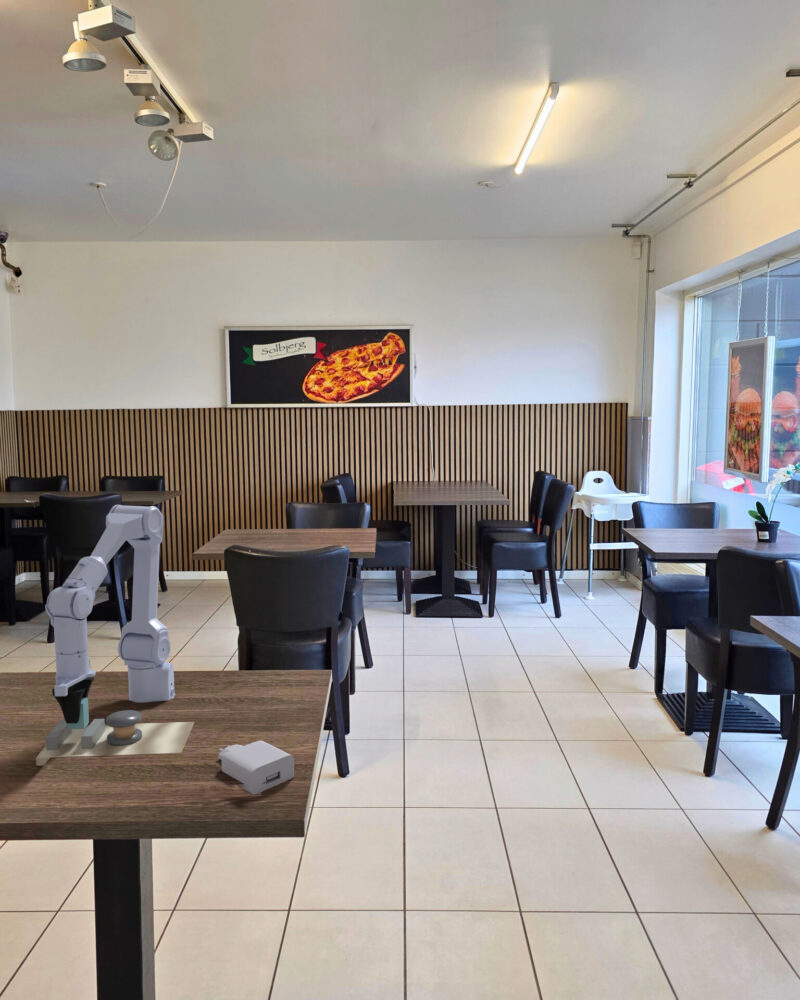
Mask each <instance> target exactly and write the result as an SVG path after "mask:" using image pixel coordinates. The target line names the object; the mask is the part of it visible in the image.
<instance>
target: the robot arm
mask: <svg viewBox="0 0 800 1000" xmlns="http://www.w3.org/2000/svg"><path fill="white" fill-rule="evenodd" d="M105 526H106V528H105V530H104V531H103V533H102V535H101V537H100V539H99V540H98V542H97V544H96V545H95V547H94V549H93V551H92V552H91V553H90V556H84V557H82V558H80V559H79V561H78V562H77V564H76V565H75V567H74V568H73V570H72V571H71V573H70V574H69V575H68V577H67V578H66V579H65V581H64V582H63V584H62V586H59V587H56V588H55V589H53V590H52V591H51V592H50V593H49V594H48V596H47V600H46V604H45V606H44V607H45V612H46V613H47V615H48V616H49V619H50V625H51V626H52V627H53V629H54V630H53V631H54V632H53V633H54V653H55V668H56V673H55V675H54V676H55V685H54V686H53V687H54V688H52V690H51V692H52V696H53V697H54V698H55V700H57V703H58V704H59V707H60V710H61V712H62V714H63V715H62V716H63V718H64V719H63V720H65V721H66V723H67V724H69V723H78V721H79V717H80V706H81V700H82V698H88V699H89V697H88V696H89V692H90V690H91V687H92V684H93V682H94V681H95V680H94V679H95V675H96V673H97V672H96V670H95V669H92V670H91V659H89V658H90V657H89V642H88V623H87V622H88V621H87V617H88V616H89V615H90V614H91V613H92V611H93V606H94V600H95V599H96V592H97V590H98V589H99V587H100V585H101V584H102V583H103V581H104V579H105V578H106V576H107V575H108V567H107V564H109V562H110V561H111V559H113V557H114V556H115V555H116V554H117V552H118V551H119V550H120V548H121V547H122V546H123V545H124V544H125V542H126V541H127V542H128V544H129V545H131V547H133V550H134V551H133V552H134V553H133V574H132V575H133V576H132V577H133V580H132V582H133V583H132V603H131V604H132V606H131V620H130V621H129V622H127V624H125V625H124V626H122V628H121V635H120V639H119V641H118V644H117V653H118V655H119V657H120V659H121V660H122V661H123V662H124V666H127V679H128V701H131V702H133V703H151V702H161V701H162V702H166V701H167V702H169V701H170V700H173V699H174V698H175V696H176V693H175V692H176V691H175V671H174V669H175V668H174V664H173V663H172V662H166V660H168V658H169V655H170V652H171V641H170V638H169V628H168V627H167V626H166V625H164V624H163V623H162V622H161V621H159V619H158V601H159V599H158V598H159V597H158V596H159V574H160V573H159V572H160V547H161V546H160V545H161V543H163V539H164V538H163V537H164V536H163V535H164V515H163V514H162V512H161V511H160V509H159V508H158V507H157V506H155V505H151V506H143V505H122V504H115V505H113V506H112V507H111V509H110V510H109V512H108V514H106V516H105Z"/></svg>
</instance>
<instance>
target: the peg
mask: <svg viewBox="0 0 800 1000" xmlns="http://www.w3.org/2000/svg"><path fill="white" fill-rule="evenodd" d="M89 711H90V710H89V697H88V698H82V700H81V706H80V717H79V721H78V723H69V724H68V729H85V727H86V726H87V725H88V724H89V723H90V718H89V717H90V714H89V713H90V712H89Z"/></svg>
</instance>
